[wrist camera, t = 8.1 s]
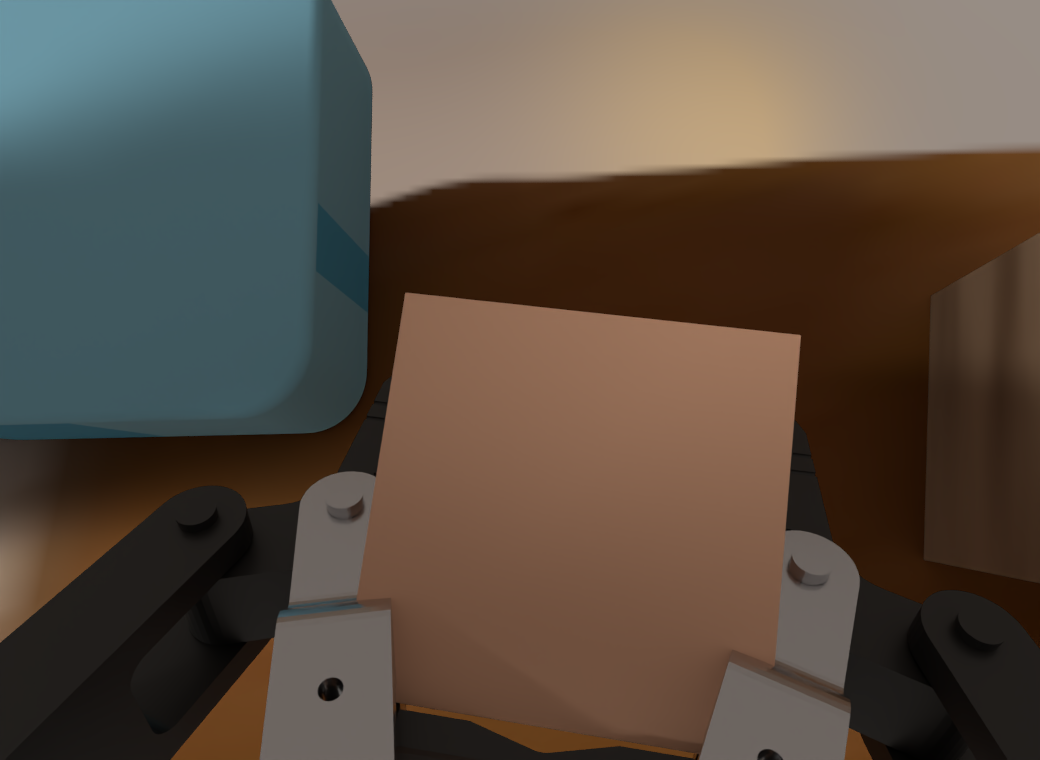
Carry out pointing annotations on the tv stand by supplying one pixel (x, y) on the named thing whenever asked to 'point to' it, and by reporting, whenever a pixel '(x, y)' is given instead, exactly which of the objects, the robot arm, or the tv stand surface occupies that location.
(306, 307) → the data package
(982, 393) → the grey brown block
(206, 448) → the tv stand surface
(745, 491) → the terracotta block
